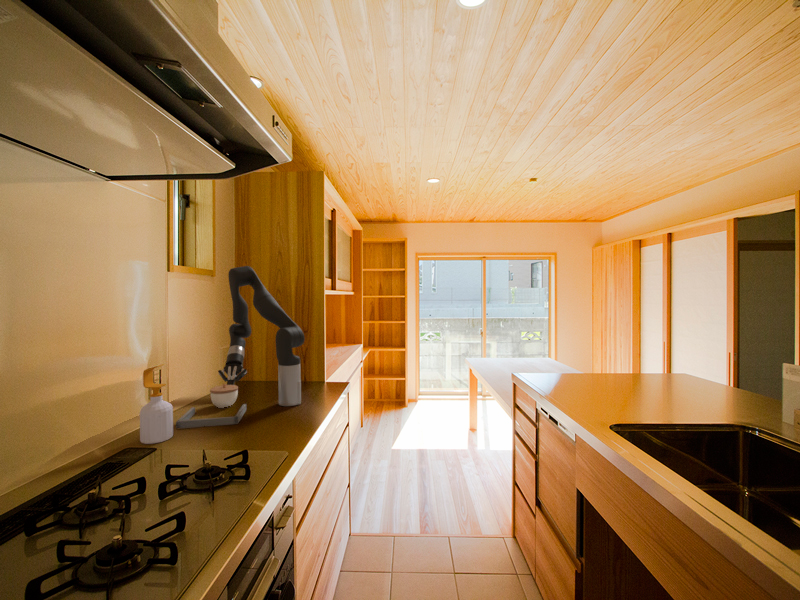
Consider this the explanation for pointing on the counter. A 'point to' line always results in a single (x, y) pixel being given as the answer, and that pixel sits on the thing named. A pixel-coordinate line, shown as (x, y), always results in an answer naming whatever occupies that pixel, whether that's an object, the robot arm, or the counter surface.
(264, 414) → the counter surface
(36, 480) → the counter surface
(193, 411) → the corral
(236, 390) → the lidded jar
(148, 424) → the soap bottle
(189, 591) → the counter surface
